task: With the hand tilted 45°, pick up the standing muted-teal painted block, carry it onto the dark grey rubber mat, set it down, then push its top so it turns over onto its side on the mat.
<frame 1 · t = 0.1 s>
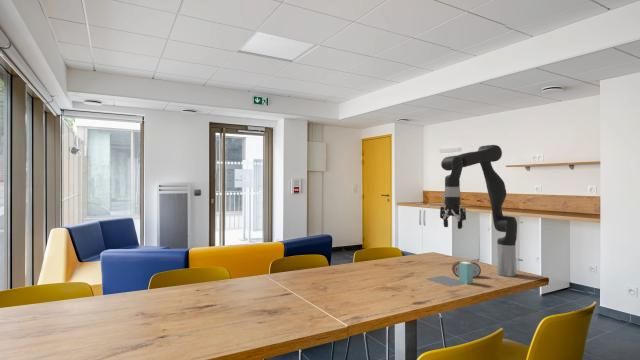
hand: (452, 227, 184), 29 cm above the table, tool pointing down, fingers open, 8 cm apart
tin: (466, 277, 201), on the table
block: (466, 282, 187), point 1 cm above the table, touching mat
mat: (446, 281, 191), on the table
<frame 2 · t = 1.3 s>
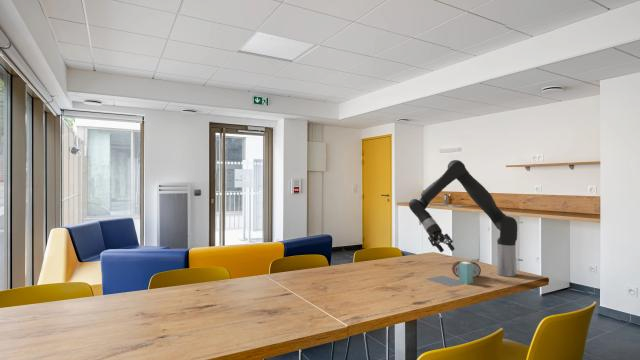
hand: (447, 250, 198), 15 cm above the table, tool tilted 45°, fingers open, 8 cm apart
nothing on the table moved.
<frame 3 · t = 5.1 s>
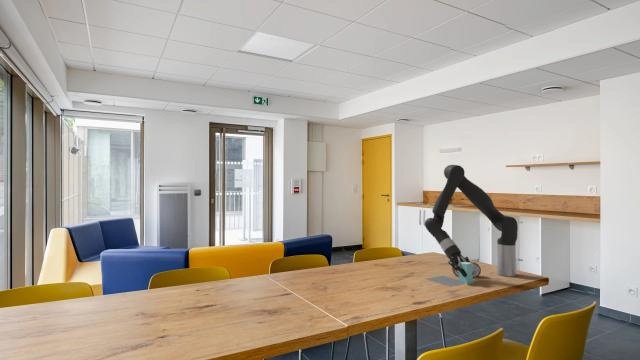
hand: (469, 275, 186), 5 cm above the table, tool tilted 45°, fingers closed on block, 4 cm apart
block: (466, 282, 187), point 1 cm above the table, touching gripper, mat
everything else where it was.
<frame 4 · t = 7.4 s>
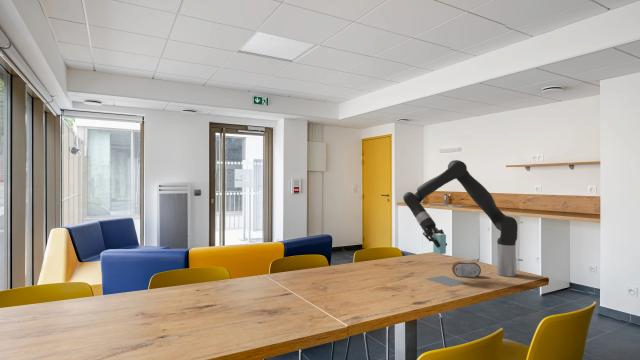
hand: (442, 246, 193), 18 cm above the table, tool tilted 45°, fingers closed on block, 4 cm apart
block: (439, 253, 195), point 14 cm above the table, touching gripper
everything else where it was.
when the fingers open (7 cm above the table, at t = 9.9 s): block drops 2 cm, resting on mat.
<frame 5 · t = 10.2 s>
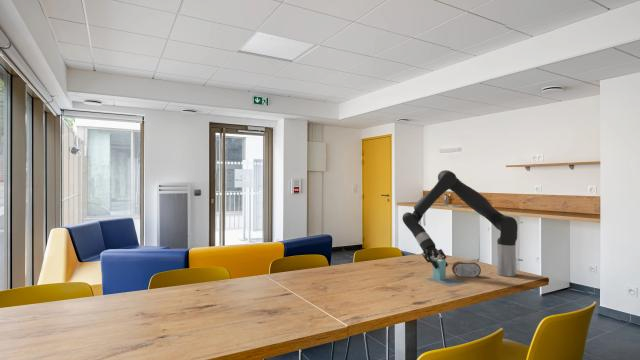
hand: (441, 267, 193), 7 cm above the table, tool tilted 45°, fingers open, 6 cm apart
block: (439, 278, 195), point 1 cm above the table, touching mat
everything else where it was.
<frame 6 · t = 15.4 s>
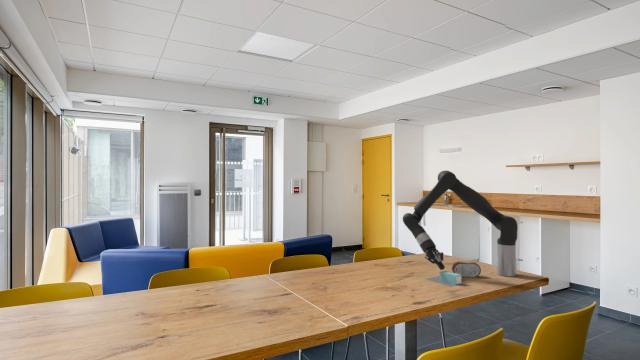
hand: (443, 268, 193), 6 cm above the table, tool tilted 45°, fingers closed
block: (442, 275, 193), point 3 cm above the table, tilted 90°, touching mat
everything else where it was.
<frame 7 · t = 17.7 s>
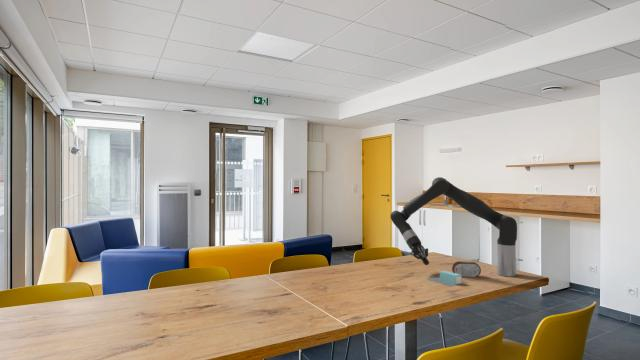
hand: (427, 264, 203), 7 cm above the table, tool tilted 45°, fingers closed
nothing on the table moved.
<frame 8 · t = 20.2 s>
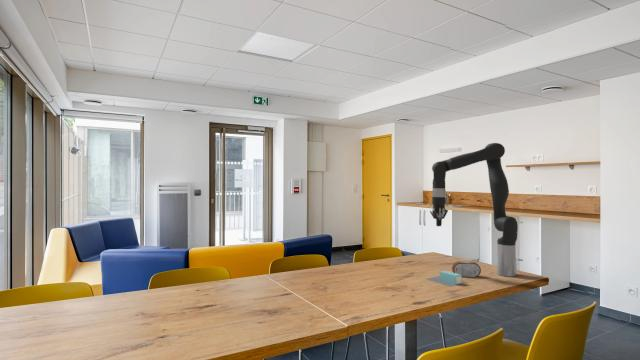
hand: (439, 226, 211), 27 cm above the table, tool pointing down, fingers closed
nothing on the table moved.
at the end: block tilted 90°; block inside the target area (1.8 cm from its centre), point 2.8 cm above the table; the gripper is holding nothing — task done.
